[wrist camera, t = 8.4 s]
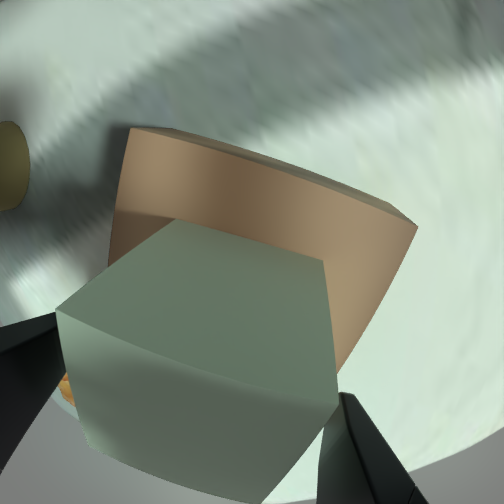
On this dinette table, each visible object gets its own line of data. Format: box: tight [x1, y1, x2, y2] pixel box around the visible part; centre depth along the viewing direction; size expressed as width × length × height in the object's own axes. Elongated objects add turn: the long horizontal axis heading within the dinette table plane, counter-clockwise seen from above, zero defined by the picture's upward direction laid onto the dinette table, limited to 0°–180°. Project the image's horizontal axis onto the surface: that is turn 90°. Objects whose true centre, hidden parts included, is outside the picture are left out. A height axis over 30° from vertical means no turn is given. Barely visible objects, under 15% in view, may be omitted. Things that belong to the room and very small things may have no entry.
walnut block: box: [108, 128, 418, 373], centre depth 13 cm, size 10×10×4 cm
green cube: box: [55, 219, 339, 504], centre depth 8 cm, size 5×5×6 cm
